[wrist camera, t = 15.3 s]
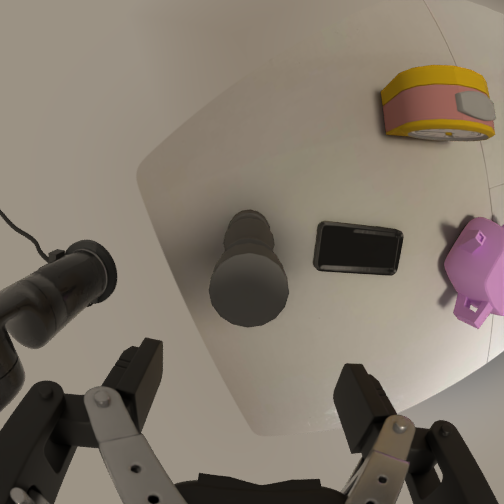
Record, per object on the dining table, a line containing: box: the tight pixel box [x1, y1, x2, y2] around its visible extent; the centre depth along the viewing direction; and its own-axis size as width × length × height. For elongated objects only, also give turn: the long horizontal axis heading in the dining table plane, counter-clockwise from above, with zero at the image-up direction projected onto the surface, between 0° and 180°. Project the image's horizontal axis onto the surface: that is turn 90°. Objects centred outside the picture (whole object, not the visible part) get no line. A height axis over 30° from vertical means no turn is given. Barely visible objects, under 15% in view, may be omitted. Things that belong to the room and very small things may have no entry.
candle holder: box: [209, 210, 289, 327], centre depth 33 cm, size 6×6×25 cm
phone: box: [313, 221, 403, 275], centre depth 45 cm, size 8×1×15 cm
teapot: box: [444, 217, 504, 329], centre depth 39 cm, size 19×18×15 cm
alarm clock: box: [381, 65, 496, 141], centre depth 31 cm, size 15×8×18 cm, turn 94°
